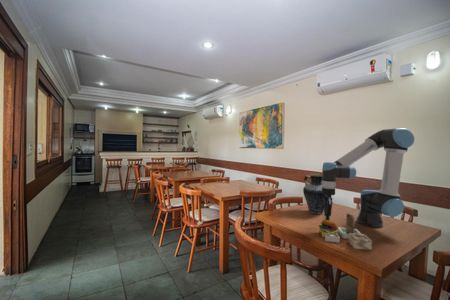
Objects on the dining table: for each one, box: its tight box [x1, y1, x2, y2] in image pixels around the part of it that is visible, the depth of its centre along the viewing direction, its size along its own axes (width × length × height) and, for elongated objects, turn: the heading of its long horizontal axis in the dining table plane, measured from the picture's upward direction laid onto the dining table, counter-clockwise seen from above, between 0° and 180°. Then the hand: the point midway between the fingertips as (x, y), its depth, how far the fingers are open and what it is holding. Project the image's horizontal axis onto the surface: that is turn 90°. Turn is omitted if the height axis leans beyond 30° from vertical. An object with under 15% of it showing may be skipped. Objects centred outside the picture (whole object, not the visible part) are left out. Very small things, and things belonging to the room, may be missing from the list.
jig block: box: [348, 233, 373, 251], centre depth 116 cm, size 8×8×5 cm
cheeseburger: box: [318, 219, 339, 239], centre depth 128 cm, size 10×11×10 cm
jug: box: [302, 173, 325, 215], centre depth 171 cm, size 21×19×30 cm
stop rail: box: [324, 233, 341, 244], centre depth 121 cm, size 7×2×4 cm, turn 76°
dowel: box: [345, 212, 355, 234], centre depth 128 cm, size 4×4×12 cm
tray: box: [337, 226, 362, 240], centre depth 128 cm, size 11×11×2 cm
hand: (326, 225), depth 134 cm, fingers closed
